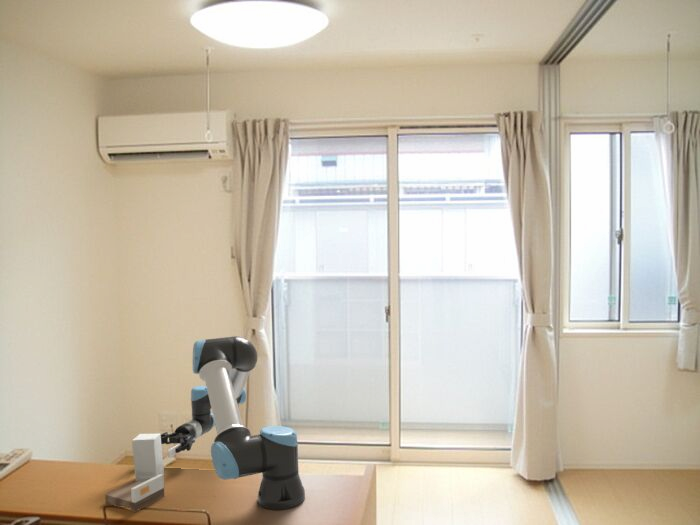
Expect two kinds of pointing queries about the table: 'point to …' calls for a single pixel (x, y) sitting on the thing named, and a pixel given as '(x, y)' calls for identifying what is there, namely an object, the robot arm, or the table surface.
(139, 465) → the skincare box
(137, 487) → the square wooden base
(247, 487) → the table surface
